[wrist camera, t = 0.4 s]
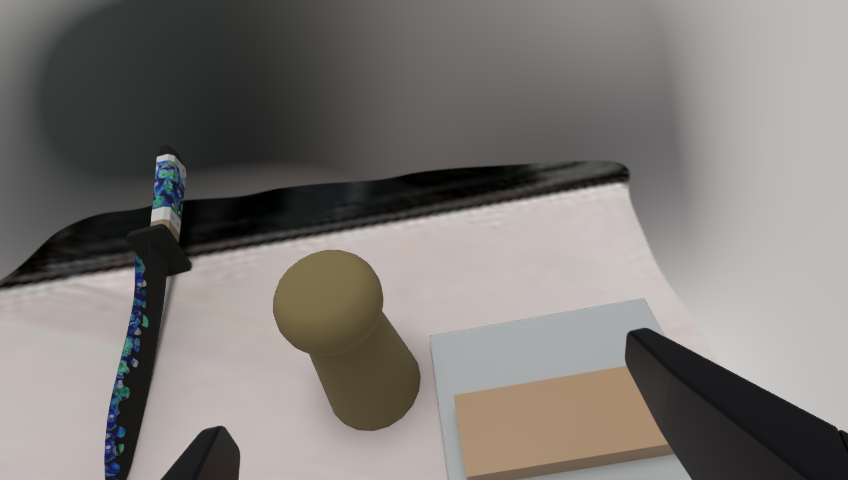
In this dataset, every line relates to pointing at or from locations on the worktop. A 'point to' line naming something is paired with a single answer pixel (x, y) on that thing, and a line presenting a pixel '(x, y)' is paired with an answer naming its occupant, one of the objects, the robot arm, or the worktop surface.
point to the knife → (146, 311)
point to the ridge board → (540, 364)
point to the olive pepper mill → (347, 338)
